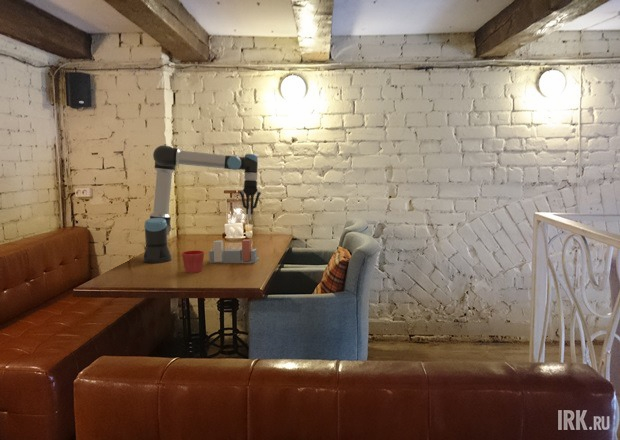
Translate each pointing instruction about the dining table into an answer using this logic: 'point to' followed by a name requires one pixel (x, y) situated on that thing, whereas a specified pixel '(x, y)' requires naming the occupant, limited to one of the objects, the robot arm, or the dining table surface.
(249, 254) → the red plug
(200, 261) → the flower pot
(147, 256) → the robot arm
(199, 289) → the dining table surface
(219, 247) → the cream plug
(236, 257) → the slot block
